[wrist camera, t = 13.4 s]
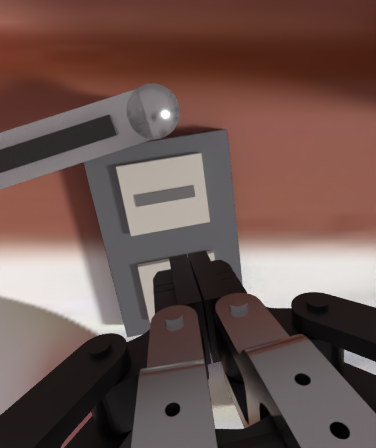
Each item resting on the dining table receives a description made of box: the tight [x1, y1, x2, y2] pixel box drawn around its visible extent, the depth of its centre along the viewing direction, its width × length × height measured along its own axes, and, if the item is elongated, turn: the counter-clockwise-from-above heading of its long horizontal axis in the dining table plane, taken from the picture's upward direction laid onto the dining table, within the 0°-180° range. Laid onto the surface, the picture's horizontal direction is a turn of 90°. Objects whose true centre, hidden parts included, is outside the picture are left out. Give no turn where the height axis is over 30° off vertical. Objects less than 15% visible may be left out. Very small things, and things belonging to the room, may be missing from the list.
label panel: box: [83, 129, 242, 337], centre depth 29 cm, size 12×18×3 cm, turn 8°
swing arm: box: [0, 83, 180, 189], centre depth 19 cm, size 22×3×3 cm, turn 107°
